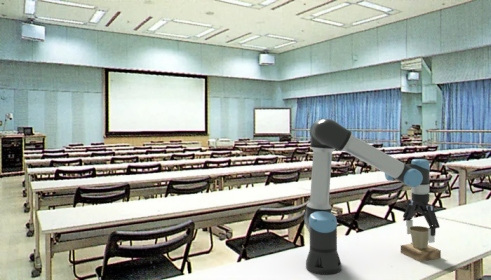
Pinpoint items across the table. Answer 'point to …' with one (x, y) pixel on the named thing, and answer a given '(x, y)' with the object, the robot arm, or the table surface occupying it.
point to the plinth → (421, 252)
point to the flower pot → (419, 236)
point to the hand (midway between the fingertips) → (420, 237)
